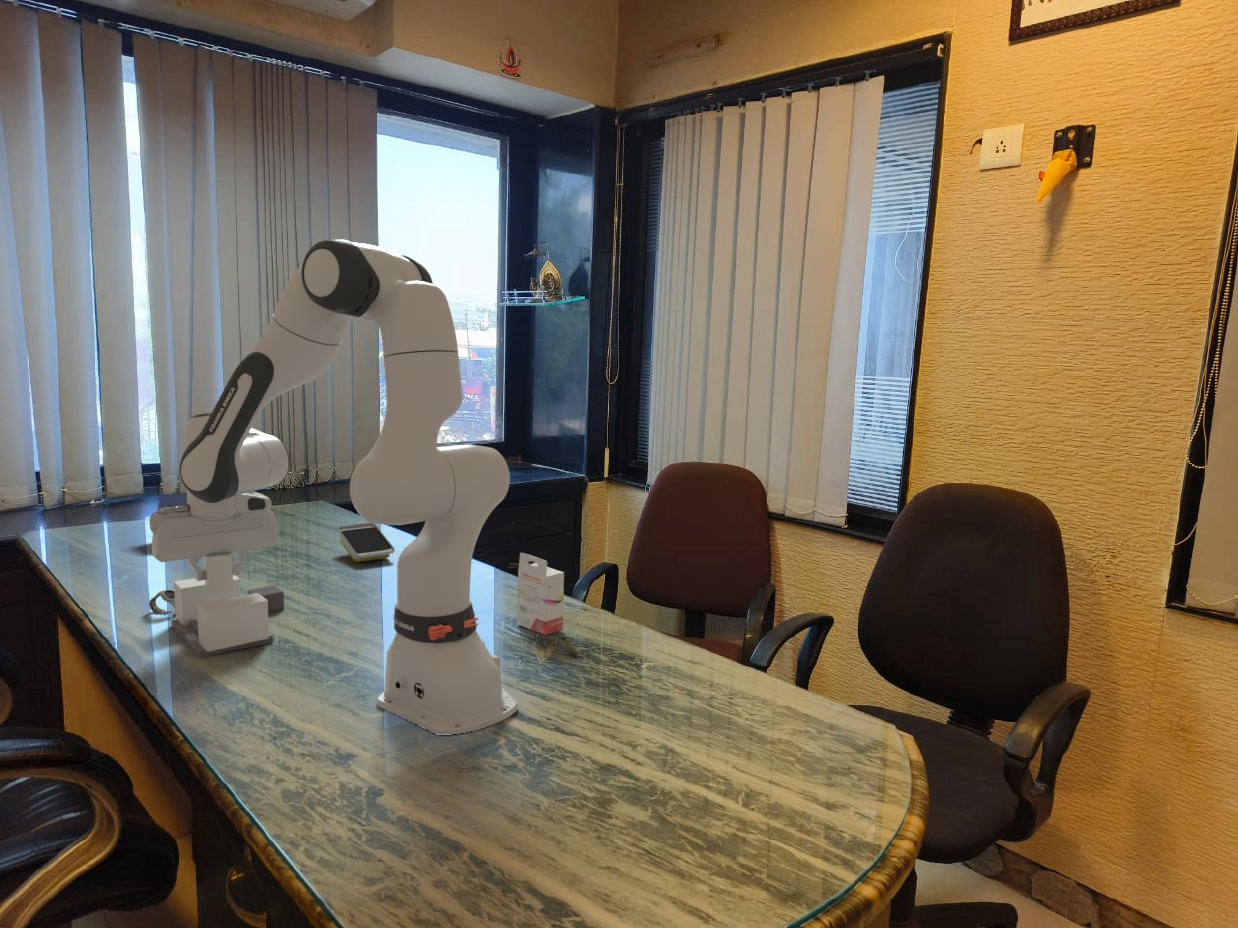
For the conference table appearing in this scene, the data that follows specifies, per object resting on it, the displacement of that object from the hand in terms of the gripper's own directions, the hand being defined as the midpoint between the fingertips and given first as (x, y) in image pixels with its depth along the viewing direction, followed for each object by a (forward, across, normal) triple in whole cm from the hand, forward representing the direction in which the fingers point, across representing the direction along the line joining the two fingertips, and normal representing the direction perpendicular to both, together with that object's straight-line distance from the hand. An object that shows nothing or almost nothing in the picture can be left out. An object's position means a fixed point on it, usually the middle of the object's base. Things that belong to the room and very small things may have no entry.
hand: (218, 576), depth 142 cm
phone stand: (+12, +11, +67) cm, 68 cm away
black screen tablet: (+7, +44, +40) cm, 60 cm away
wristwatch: (+11, -5, +17) cm, 21 cm away
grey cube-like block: (+11, +11, +9) cm, 18 cm away
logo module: (+2, 0, 0) cm, 2 cm away
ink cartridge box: (+11, +49, -31) cm, 59 cm away
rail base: (+11, 0, 0) cm, 11 cm away
